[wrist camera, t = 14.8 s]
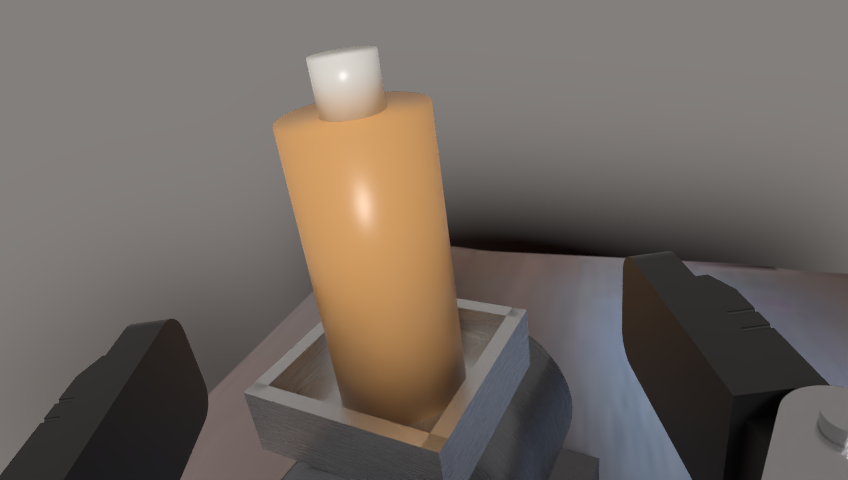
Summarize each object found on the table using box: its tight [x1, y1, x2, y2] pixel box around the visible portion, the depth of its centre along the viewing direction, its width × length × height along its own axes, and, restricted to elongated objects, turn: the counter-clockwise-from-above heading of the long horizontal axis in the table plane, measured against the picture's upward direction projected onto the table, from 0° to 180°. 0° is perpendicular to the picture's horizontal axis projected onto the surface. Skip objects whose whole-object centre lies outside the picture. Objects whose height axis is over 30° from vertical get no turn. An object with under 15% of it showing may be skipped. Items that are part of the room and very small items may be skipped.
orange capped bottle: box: [273, 46, 466, 425], centre depth 23 cm, size 6×6×14 cm
